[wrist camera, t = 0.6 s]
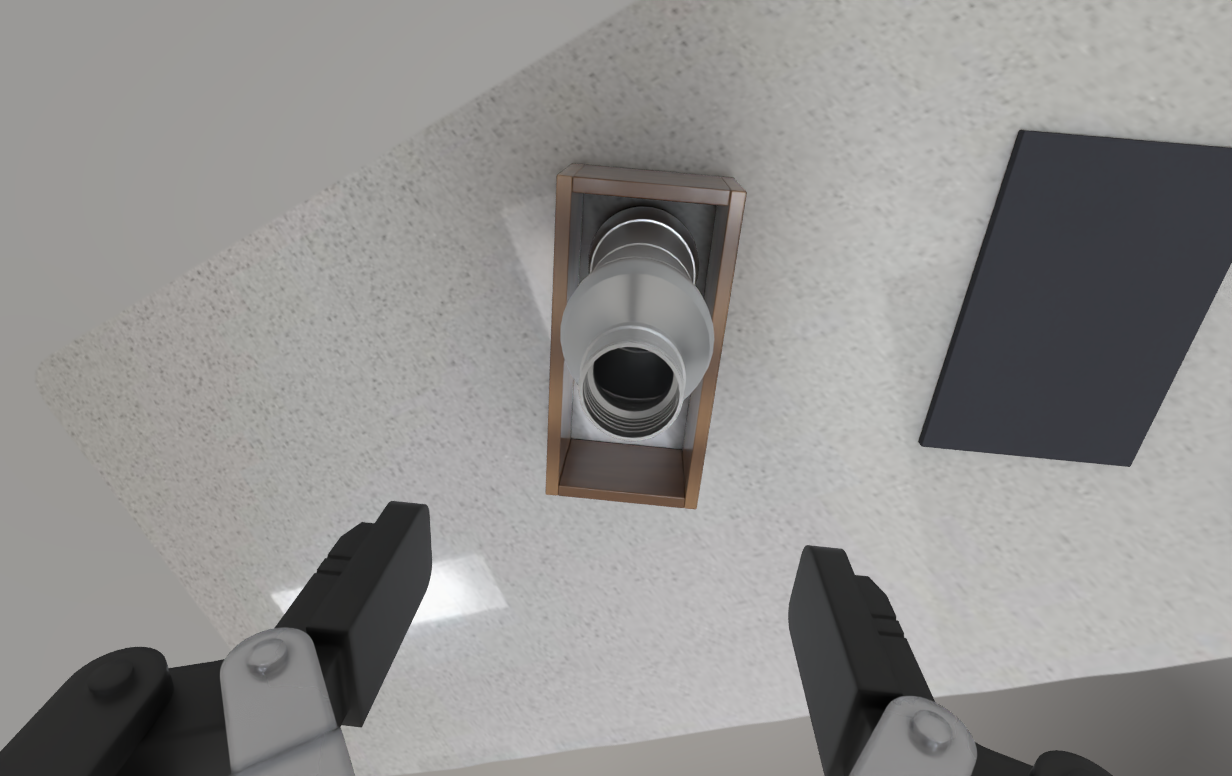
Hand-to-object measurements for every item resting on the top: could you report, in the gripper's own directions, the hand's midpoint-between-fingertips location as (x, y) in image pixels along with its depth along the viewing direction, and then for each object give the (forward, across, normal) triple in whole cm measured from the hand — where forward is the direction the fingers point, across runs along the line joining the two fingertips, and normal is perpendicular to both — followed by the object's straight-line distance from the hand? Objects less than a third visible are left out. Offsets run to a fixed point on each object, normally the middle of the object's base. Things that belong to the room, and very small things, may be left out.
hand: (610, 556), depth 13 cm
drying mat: (+28, -27, +1) cm, 39 cm away
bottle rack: (+28, 0, +5) cm, 29 cm away
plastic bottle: (+29, 0, 0) cm, 29 cm away
